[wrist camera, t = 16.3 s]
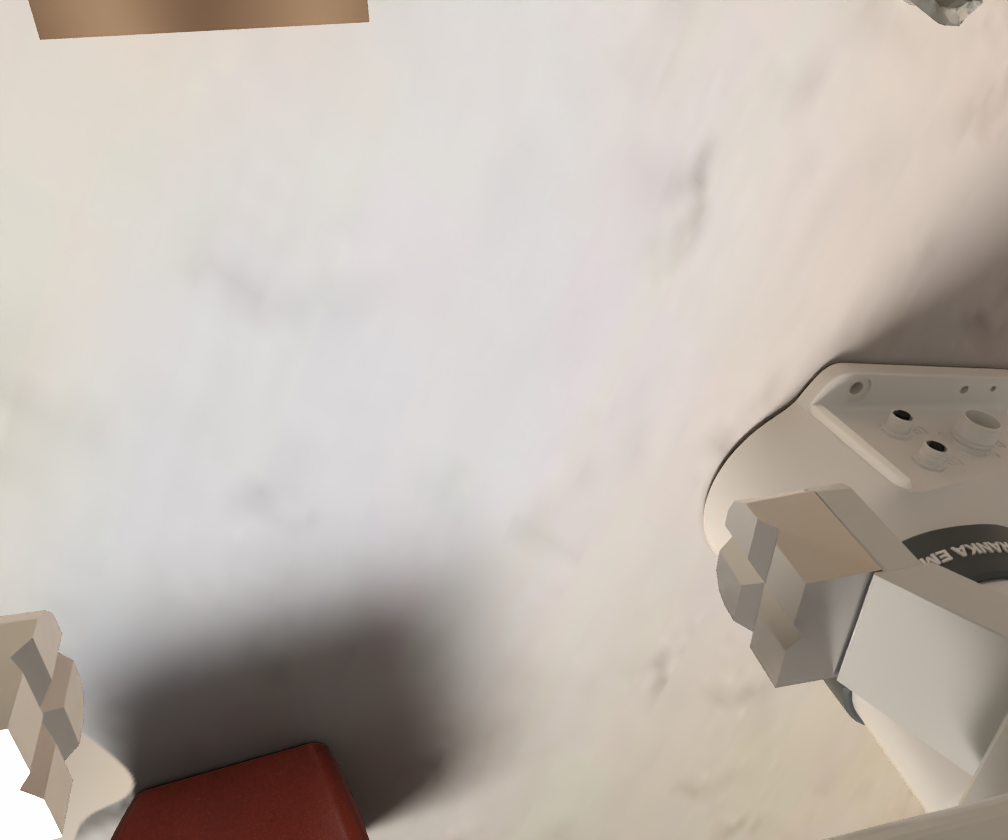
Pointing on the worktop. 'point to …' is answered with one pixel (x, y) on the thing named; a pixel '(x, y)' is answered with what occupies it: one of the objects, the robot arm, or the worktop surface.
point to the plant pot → (251, 802)
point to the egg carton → (947, 9)
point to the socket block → (185, 15)
